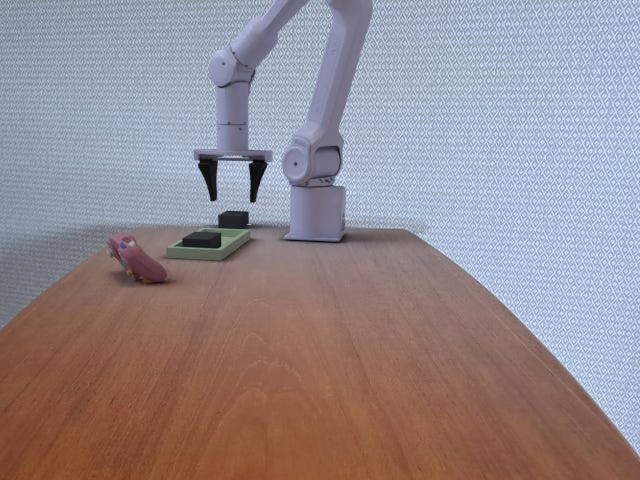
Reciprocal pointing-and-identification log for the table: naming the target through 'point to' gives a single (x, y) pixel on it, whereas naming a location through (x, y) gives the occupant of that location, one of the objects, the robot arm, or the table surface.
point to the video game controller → (134, 258)
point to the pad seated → (202, 240)
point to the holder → (229, 241)
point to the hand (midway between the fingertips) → (233, 201)
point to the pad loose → (233, 219)
